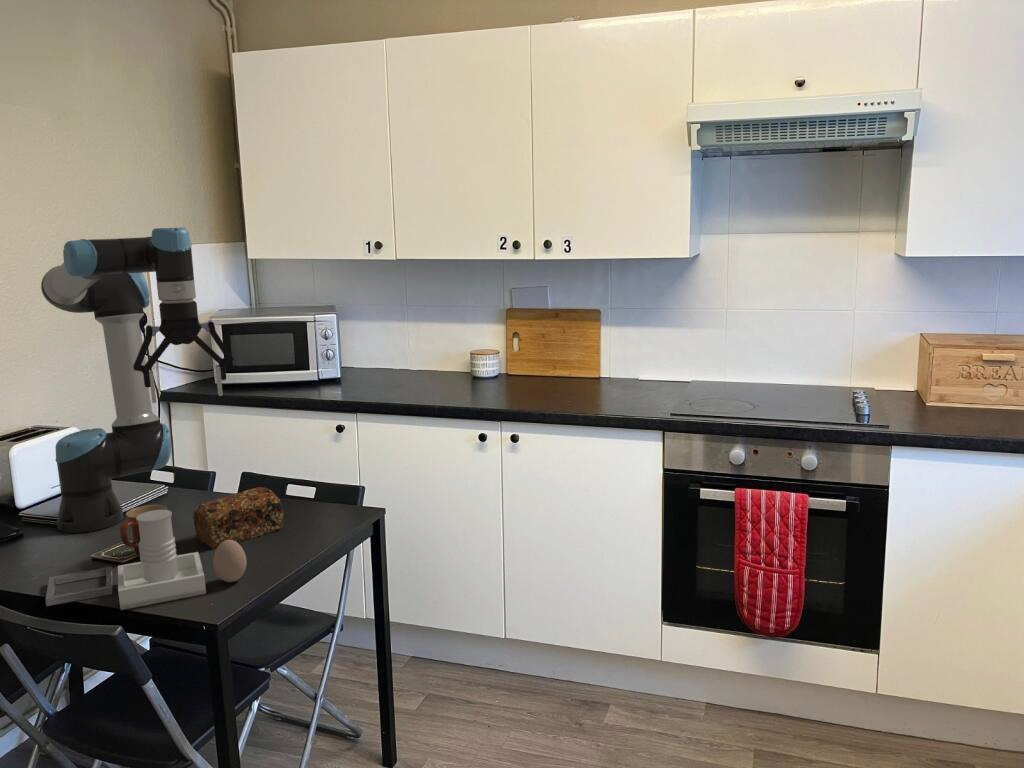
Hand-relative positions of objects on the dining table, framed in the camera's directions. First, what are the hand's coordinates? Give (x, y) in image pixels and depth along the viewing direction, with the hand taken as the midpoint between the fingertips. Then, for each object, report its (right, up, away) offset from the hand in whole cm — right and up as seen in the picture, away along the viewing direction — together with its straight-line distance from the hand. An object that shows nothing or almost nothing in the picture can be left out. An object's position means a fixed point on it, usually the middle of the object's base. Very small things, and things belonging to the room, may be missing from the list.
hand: (187, 398), depth 189 cm
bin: (-2, -39, -9) cm, 40 cm away
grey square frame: (-19, -40, -8) cm, 45 cm away
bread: (+5, -34, +21) cm, 40 cm away
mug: (-13, -36, +9) cm, 39 cm away
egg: (+12, -39, -6) cm, 41 cm away
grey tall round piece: (-2, -39, -9) cm, 40 cm away
